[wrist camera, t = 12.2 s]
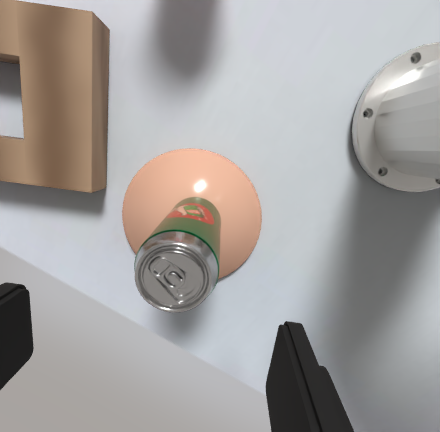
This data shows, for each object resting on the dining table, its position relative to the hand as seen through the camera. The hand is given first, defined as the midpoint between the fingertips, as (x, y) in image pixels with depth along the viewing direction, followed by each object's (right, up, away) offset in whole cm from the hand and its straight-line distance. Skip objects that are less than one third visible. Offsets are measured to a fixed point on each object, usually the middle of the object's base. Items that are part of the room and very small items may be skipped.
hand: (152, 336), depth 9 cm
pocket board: (-17, +15, +14) cm, 27 cm away
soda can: (0, +4, +16) cm, 17 cm away
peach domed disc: (0, +4, +17) cm, 18 cm away
